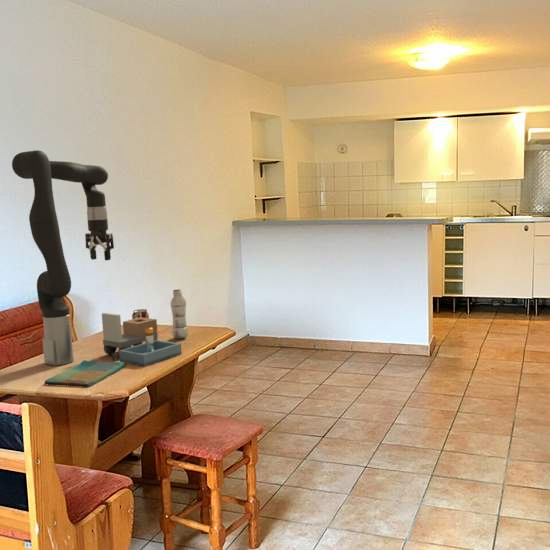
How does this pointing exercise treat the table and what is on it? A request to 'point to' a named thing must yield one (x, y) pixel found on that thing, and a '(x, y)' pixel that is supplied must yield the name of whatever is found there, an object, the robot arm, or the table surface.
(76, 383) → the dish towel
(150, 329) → the stop pin
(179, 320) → the plastic bottle
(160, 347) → the tray
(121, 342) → the trolley
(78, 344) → the table surface
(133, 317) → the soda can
